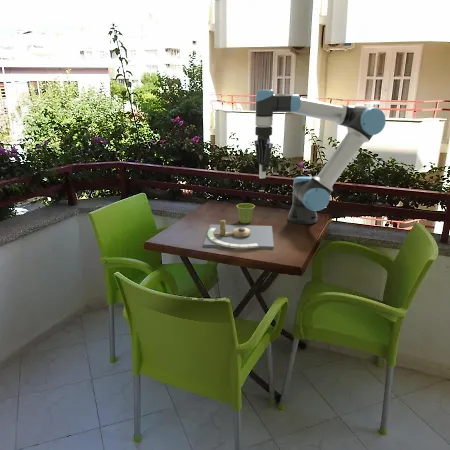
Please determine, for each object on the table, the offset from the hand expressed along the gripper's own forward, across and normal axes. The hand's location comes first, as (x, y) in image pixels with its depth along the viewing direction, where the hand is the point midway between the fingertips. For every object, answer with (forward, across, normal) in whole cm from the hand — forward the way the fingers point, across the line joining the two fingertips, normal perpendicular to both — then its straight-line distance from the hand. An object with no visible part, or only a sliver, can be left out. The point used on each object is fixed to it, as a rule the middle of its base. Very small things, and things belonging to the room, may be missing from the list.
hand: (262, 178), depth 181 cm
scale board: (+26, -4, +14) cm, 30 cm away
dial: (+25, -2, +17) cm, 30 cm away
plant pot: (+27, +15, +1) cm, 31 cm away
